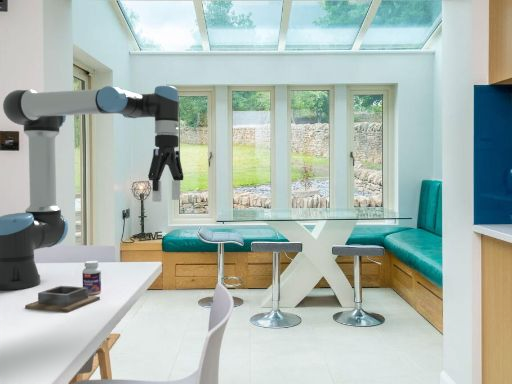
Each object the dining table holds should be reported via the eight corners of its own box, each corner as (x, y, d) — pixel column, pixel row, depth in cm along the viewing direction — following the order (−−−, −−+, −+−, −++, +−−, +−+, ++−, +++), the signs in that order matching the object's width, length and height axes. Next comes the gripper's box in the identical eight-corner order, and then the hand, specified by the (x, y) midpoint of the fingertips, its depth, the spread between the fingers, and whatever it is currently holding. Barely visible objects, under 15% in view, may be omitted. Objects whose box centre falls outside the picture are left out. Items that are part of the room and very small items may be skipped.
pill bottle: (82, 295, 150) (81, 263, 150) (83, 291, 155) (82, 260, 155) (100, 294, 151) (100, 262, 151) (101, 290, 157) (101, 259, 156)
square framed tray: (25, 308, 136) (25, 294, 136) (59, 296, 150) (59, 283, 150) (68, 312, 132) (68, 298, 132) (99, 299, 146) (99, 286, 145)
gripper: (159, 131, 148) (159, 202, 148) (193, 137, 172) (193, 199, 172) (136, 131, 150) (136, 202, 151) (173, 138, 174) (173, 198, 174)
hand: (166, 200), depth 161 cm, fingers open, 13 cm apart
